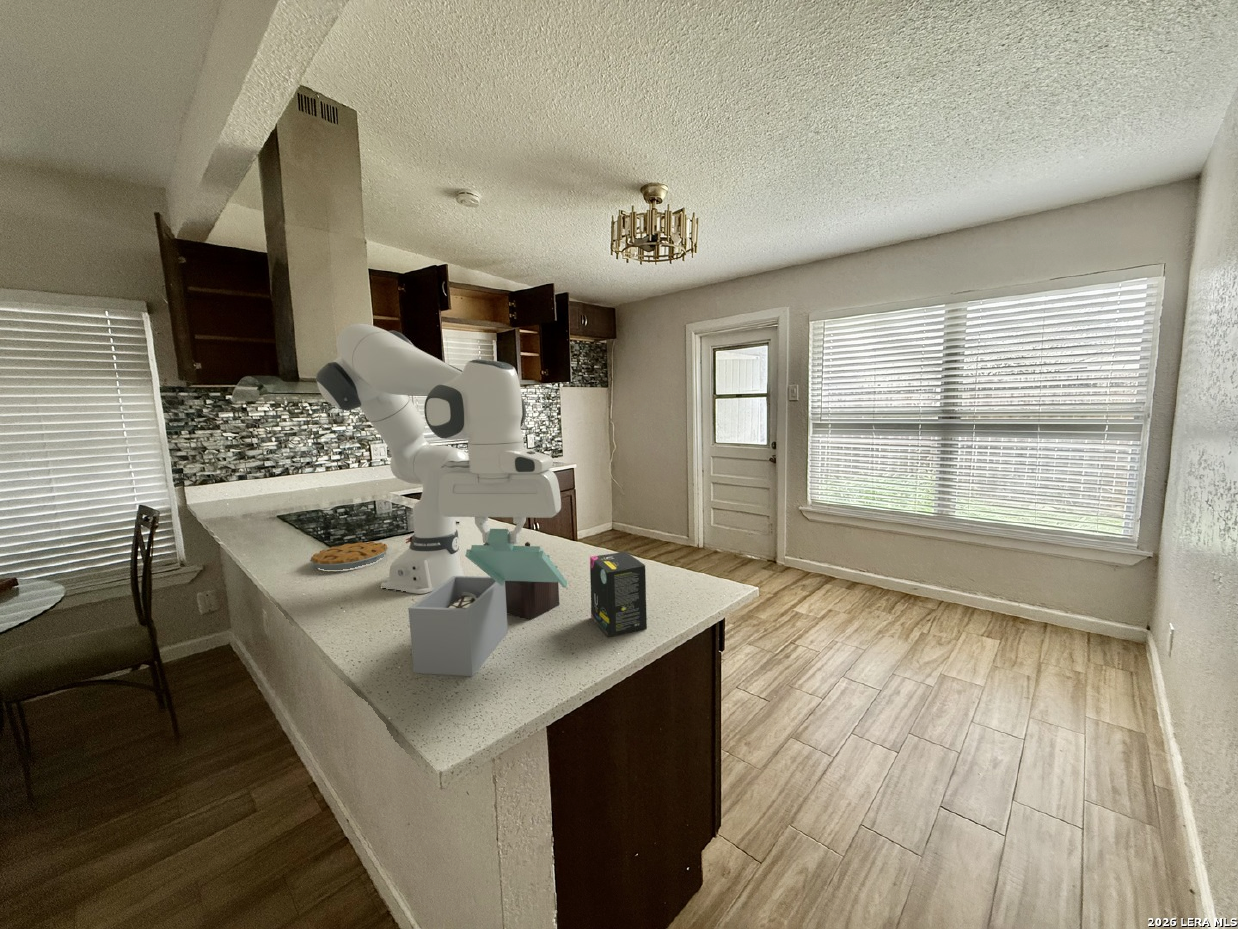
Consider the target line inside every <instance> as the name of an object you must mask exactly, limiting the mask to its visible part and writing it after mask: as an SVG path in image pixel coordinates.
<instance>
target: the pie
mask: <svg viewBox="0 0 1238 929" xmlns="http://www.w3.org/2000/svg"><path fill="white" fill-rule="evenodd" d="M388 550H389V547H388V546H387V544H386V543H383V542H375V541H371V540H370V541H368V542H355V543H344V544H343V545H339V546H330V548H328V549H322V550H319V552H318V553H314V554H313V556H311V557H310V559H309V562H310V563H312V564H313V565H314V566H316V567H317V568H320V569H324V570H343V569H350V568H355V567H358V566H362V565H366V564H370V563H373V562H376V561H377V560H379V559H380V558H383V557H384V558H385V556H384V555H386V553H387V552H388ZM384 558H383V559H384ZM316 567H315V568H316ZM317 568H316V569H317Z"/></svg>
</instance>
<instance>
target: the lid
mask: <svg viewBox="0 0 1238 929" xmlns="http://www.w3.org/2000/svg"><path fill="white" fill-rule="evenodd" d="M489 529H490V532H489V536H488V541H487V543H488V544H489V545H484V544H472V545H471V547H470V549H468V548H467V549H466V552H465V555H464V556H465V557H466V558H467V559H468V560H469V561H471V562H472V563H473V564H474V565H475V566H477V567H478V568H479V569H480V570H482V571H483V572H484V573H485V574H487V575H488V577H491V578H493V579H494V580H495V581H496V582H497V583H499V584H500V585H502V586H504V582H505V581H531V582H558V584H559V585H561V587H562V588H564V589H565V588H567V585H568V581H567V579H566V578H565V577H564V576H563V574H562V573H561V571H560V570H559V569H558V565H556V564H554V562H553V561H552V560H551V558H550V555H549V554H547V553H546V552H545V551H544V549H542V547H541V546H540V545H538V546H537V545H535V546H534V545H530V546H525V545H515V544H510V543H508V539H509V538H508V533H510V532H511V531H510V530H509V529H508V528H489Z"/></svg>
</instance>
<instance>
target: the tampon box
mask: <svg viewBox="0 0 1238 929" xmlns="http://www.w3.org/2000/svg"><path fill="white" fill-rule="evenodd" d="M589 569H590V570H589V576H590V577H589V578H590V617H591V619H592V620H593V621H594V623H596V625H597V626H598V627H599V628H600V630H601V631H602V632H603V634H605V636H606V637H607V638H611V637H615V636H618V635H624V634H628V633H633V632H637V631H640V630H641V631H643V630H646V629H648V625H647V624H648V620H647V587H646V586H647V582H646V579H647V576H646V564H644V563H643V562H641V561H640V560H638V559H637V558H636V557H634V556H632V554H630V553H628V552H627V551H621V552H613V553H606V554H601V555H593V556H590V557H589Z"/></svg>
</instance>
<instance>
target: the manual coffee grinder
mask: <svg viewBox="0 0 1238 929" xmlns="http://www.w3.org/2000/svg"><path fill="white" fill-rule="evenodd" d="M483 545H489V544H488V543H483ZM524 546H531V543H530V542H529V541H526V542H525V543H524ZM559 585H560V584H559V582H531V581H505V592H506V610H507V615H510V616H513V617H517V618H518V619H522V620H526V621H531V620H534V619H537V618H538V617H540V616H542V615H544V614H546V613H547V612H549V611H551V610H553V609H554V608H556V607H558V606H559V605H560V592H559V591H560V590H559V588H560V587H559Z"/></svg>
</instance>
